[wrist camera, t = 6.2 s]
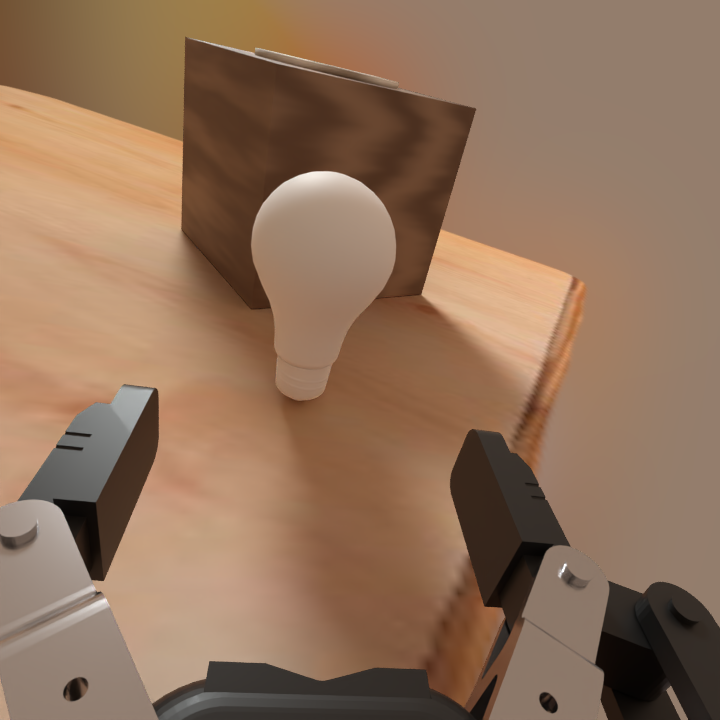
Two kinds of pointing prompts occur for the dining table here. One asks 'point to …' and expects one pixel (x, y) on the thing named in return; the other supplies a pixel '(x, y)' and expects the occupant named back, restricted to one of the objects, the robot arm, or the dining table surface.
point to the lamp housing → (310, 153)
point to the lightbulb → (319, 270)
